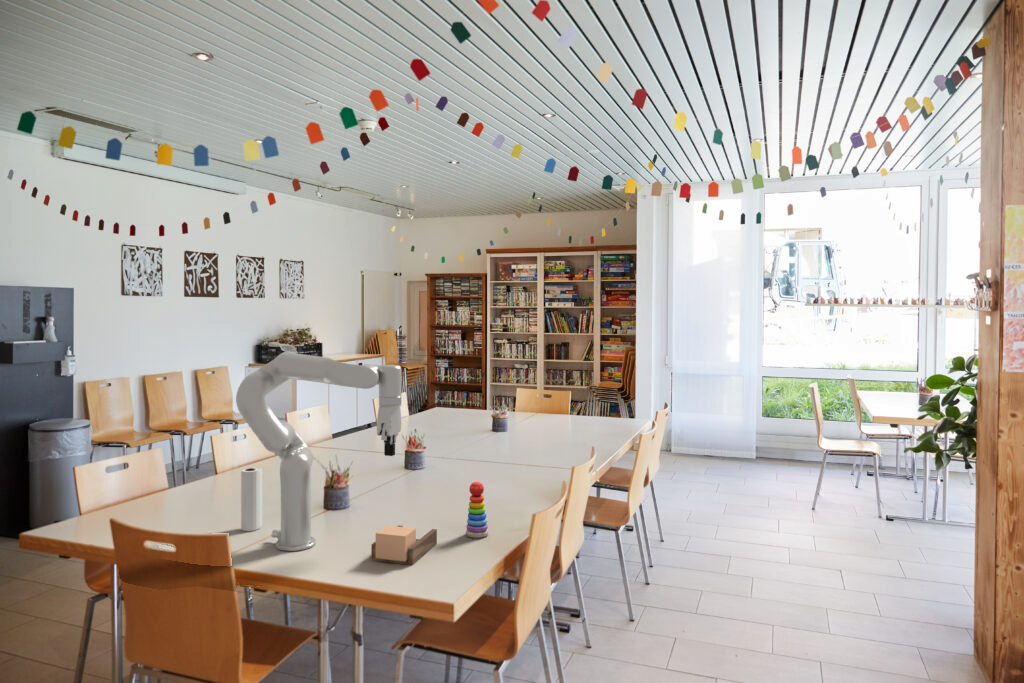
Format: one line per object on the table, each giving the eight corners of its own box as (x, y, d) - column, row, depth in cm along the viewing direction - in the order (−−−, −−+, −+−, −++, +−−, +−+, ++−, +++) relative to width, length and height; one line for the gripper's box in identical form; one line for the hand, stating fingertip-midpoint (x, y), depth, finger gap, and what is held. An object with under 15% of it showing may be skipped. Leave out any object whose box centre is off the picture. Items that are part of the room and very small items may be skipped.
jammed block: (375, 558, 211) (375, 533, 211) (386, 549, 219) (386, 525, 218) (405, 561, 208) (405, 536, 208) (415, 552, 216) (415, 528, 216)
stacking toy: (488, 531, 243) (489, 479, 242) (488, 538, 235) (489, 485, 234) (466, 531, 242) (466, 479, 242) (465, 538, 234) (466, 484, 234)
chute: (371, 560, 213) (371, 544, 213) (398, 539, 232) (398, 525, 232) (412, 565, 209) (413, 548, 209) (436, 544, 228) (436, 529, 228)
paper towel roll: (240, 532, 237) (240, 471, 237) (242, 527, 243) (242, 467, 242) (262, 530, 239) (262, 470, 239) (263, 525, 245) (263, 466, 244)
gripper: (389, 398, 238) (389, 450, 239) (369, 403, 224) (369, 459, 225) (409, 399, 236) (408, 451, 237) (390, 404, 222) (390, 460, 223)
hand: (389, 455), depth 231 cm, fingers closed
